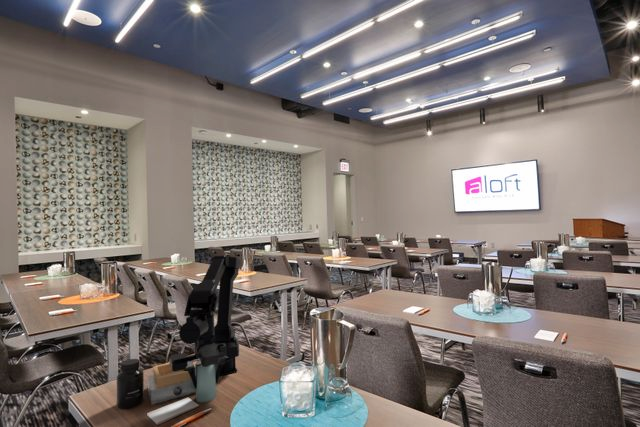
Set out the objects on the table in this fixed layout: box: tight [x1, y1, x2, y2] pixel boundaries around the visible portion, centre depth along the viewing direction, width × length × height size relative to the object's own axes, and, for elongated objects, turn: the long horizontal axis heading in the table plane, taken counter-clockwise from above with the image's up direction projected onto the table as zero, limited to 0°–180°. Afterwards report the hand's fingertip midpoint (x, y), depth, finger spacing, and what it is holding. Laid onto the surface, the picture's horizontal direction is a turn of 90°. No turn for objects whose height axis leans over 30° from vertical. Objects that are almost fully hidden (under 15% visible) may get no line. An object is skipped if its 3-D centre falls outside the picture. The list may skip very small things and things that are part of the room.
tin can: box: [194, 360, 217, 403], centre depth 103 cm, size 6×6×10 cm
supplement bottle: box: [116, 358, 145, 410], centre depth 101 cm, size 7×7×12 cm
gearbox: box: [146, 362, 196, 405], centre depth 109 cm, size 14×13×6 cm
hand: (205, 385), depth 103 cm, fingers closed on tin can, 5 cm apart
